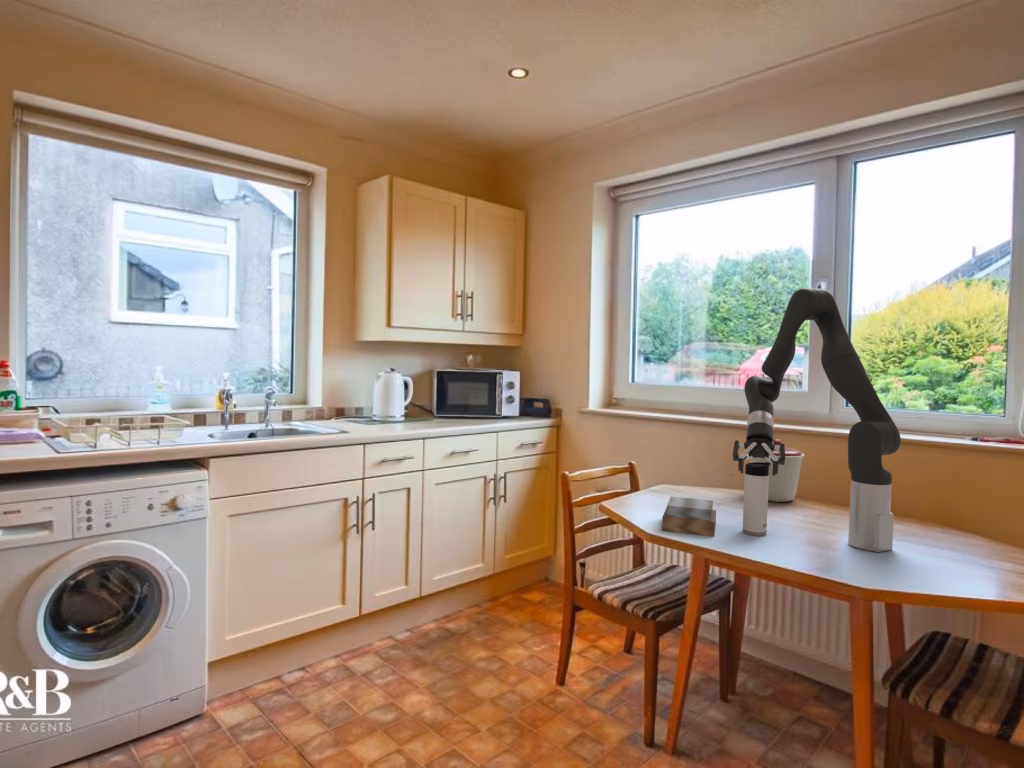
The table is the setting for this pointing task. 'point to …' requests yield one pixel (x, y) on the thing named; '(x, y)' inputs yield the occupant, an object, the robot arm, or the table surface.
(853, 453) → the robot arm
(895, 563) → the table surface
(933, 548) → the table surface
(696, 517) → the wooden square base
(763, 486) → the travel mug
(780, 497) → the canister
